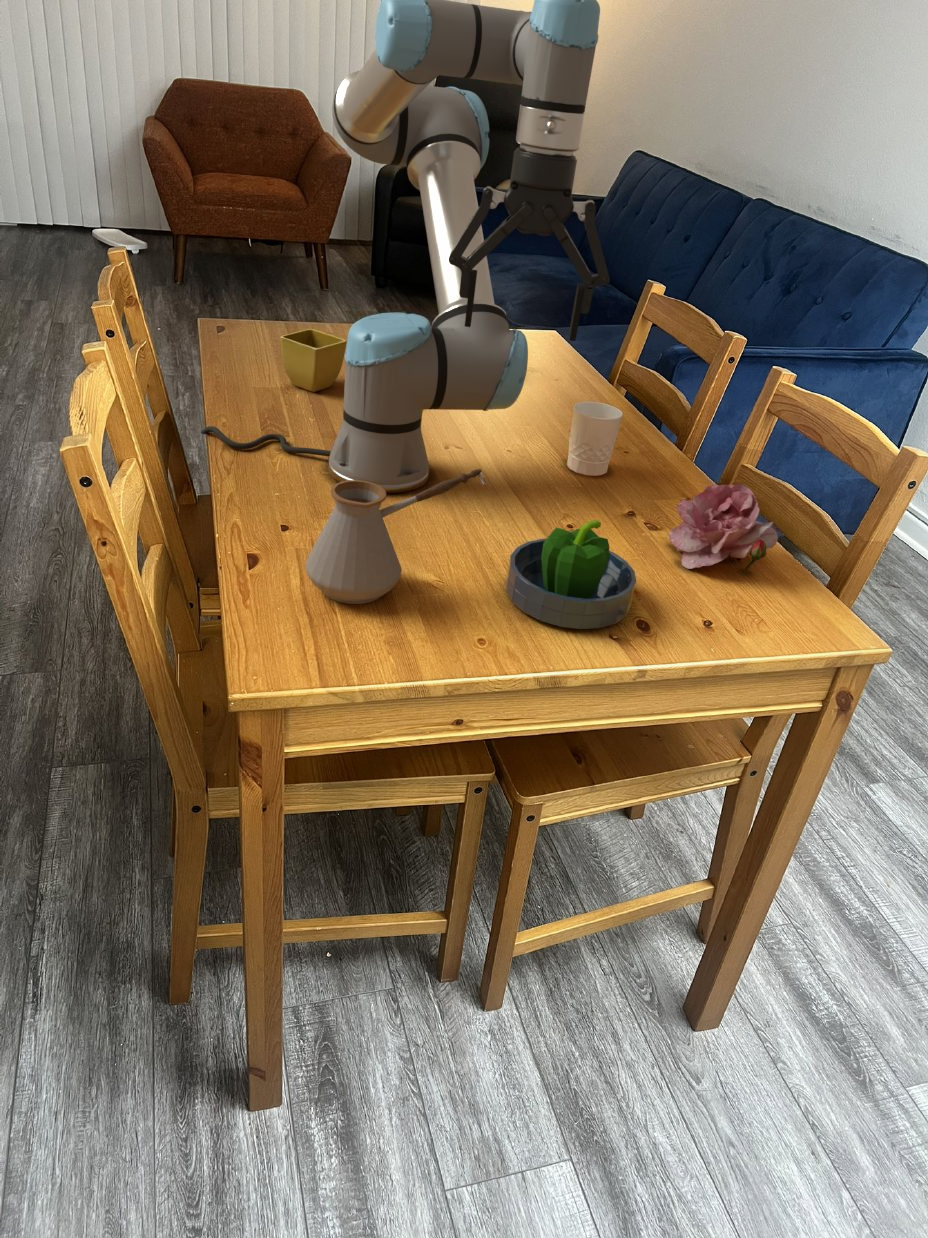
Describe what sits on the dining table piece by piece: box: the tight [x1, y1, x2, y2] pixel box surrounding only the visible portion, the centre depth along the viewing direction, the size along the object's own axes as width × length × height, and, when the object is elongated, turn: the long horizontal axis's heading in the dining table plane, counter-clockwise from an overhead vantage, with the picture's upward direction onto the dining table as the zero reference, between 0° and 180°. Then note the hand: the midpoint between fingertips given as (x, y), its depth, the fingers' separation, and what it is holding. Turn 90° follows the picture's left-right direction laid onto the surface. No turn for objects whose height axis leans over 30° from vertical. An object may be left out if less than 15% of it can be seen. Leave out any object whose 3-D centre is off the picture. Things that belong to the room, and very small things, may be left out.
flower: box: [668, 483, 779, 573], centre depth 130 cm, size 15×15×10 cm
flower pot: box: [279, 328, 347, 393], centre depth 171 cm, size 9×9×9 cm
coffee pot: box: [305, 468, 487, 605], centre depth 112 cm, size 21×12×15 cm, turn 110°
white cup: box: [566, 401, 624, 477], centre depth 153 cm, size 8×8×10 cm
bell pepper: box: [541, 519, 610, 599], centre depth 115 cm, size 8×8×10 cm
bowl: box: [505, 537, 637, 630], centre depth 117 cm, size 16×16×4 cm
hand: (519, 331), depth 122 cm, fingers open, 13 cm apart
